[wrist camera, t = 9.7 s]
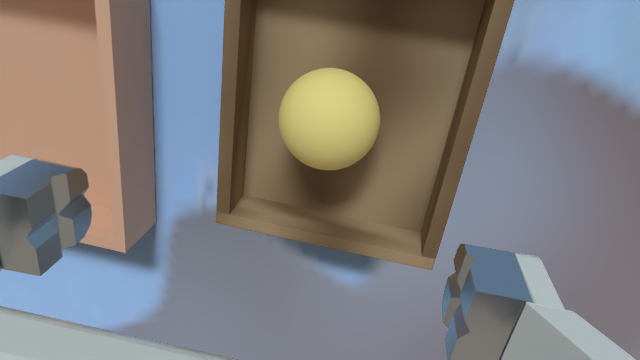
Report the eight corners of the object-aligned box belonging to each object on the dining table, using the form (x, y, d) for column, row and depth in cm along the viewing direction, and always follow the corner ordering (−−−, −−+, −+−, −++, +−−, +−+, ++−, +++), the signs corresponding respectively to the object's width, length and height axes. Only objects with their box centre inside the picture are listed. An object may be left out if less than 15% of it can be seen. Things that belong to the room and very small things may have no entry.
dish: (-58, 174, 26) (-111, 198, 24) (-127, -87, 20) (-207, -95, 18) (156, 222, 25) (125, 253, 22) (148, -43, 19) (106, -45, 16)
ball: (301, 138, 21) (255, 167, 18) (312, 52, 19) (263, 65, 16) (382, 163, 20) (349, 199, 17) (402, 72, 18) (369, 92, 15)
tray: (235, 197, 23) (216, 223, 21) (251, -66, 18) (227, -70, 16) (429, 239, 22) (432, 270, 20) (507, -27, 17) (522, -26, 15)
